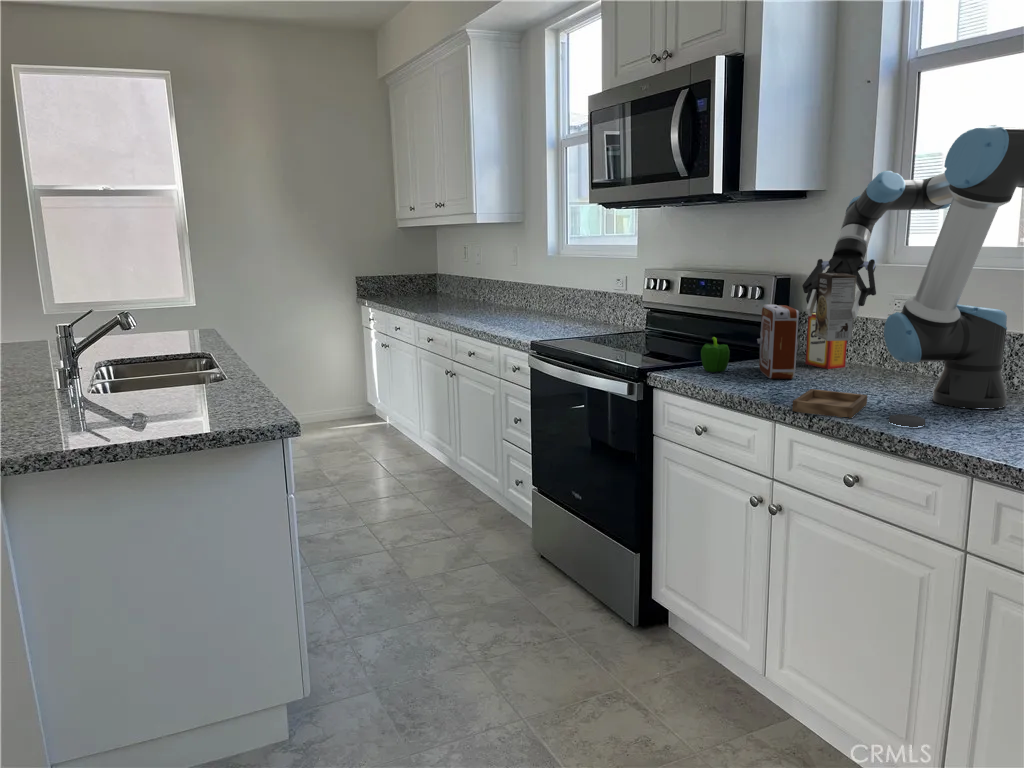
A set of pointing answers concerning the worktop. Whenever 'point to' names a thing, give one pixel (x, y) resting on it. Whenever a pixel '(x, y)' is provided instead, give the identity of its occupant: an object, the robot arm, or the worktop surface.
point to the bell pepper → (715, 356)
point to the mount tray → (829, 403)
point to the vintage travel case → (778, 341)
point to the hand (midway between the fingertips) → (831, 313)
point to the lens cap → (907, 420)
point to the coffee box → (835, 306)
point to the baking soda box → (823, 349)
